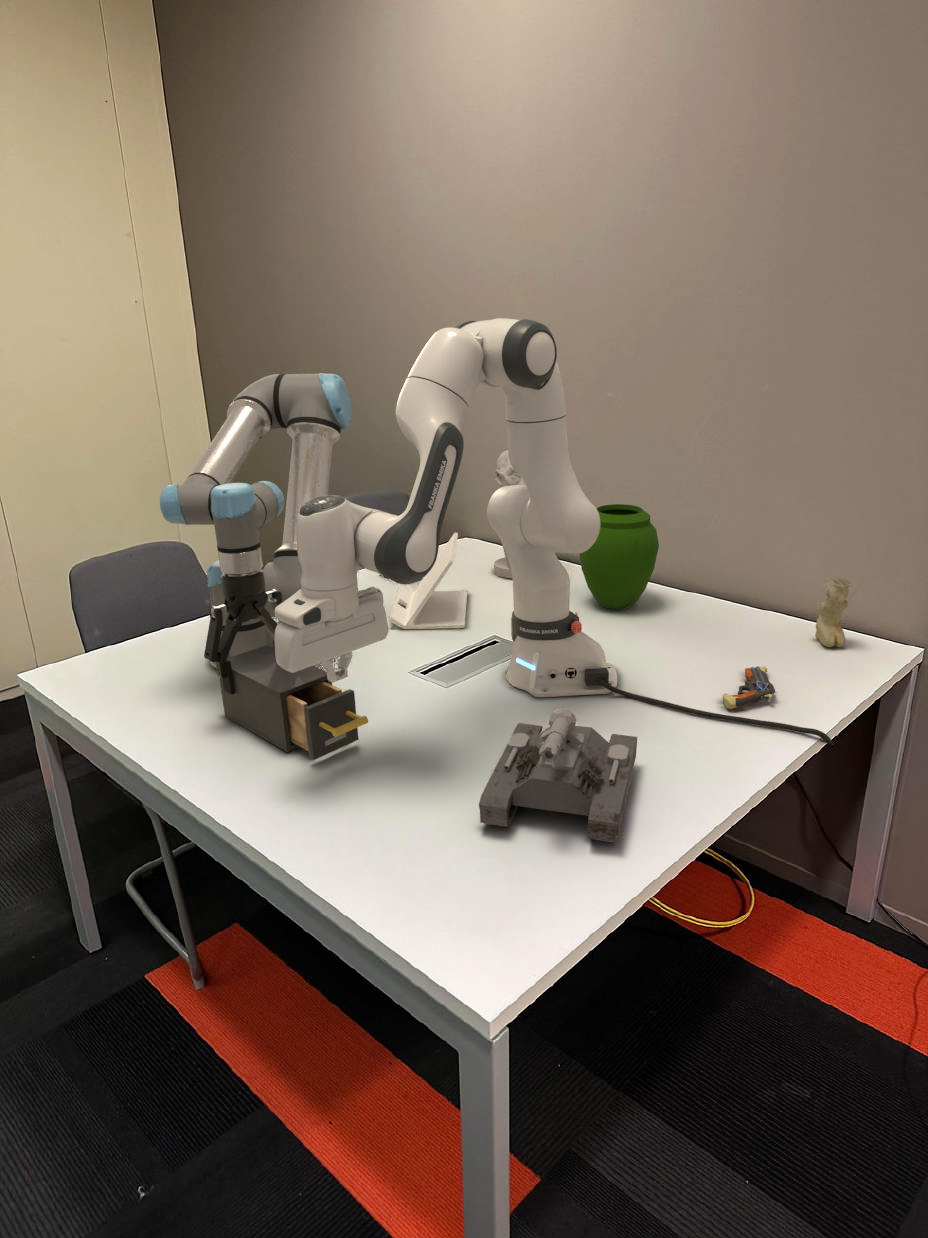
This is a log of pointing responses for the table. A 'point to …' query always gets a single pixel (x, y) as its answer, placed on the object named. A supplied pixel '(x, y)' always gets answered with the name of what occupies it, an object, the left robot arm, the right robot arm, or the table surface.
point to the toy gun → (751, 689)
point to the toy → (562, 775)
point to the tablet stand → (431, 599)
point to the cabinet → (265, 694)
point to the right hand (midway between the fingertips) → (337, 679)
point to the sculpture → (832, 613)
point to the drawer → (322, 718)
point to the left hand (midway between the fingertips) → (256, 682)
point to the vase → (620, 556)
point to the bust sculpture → (503, 477)
